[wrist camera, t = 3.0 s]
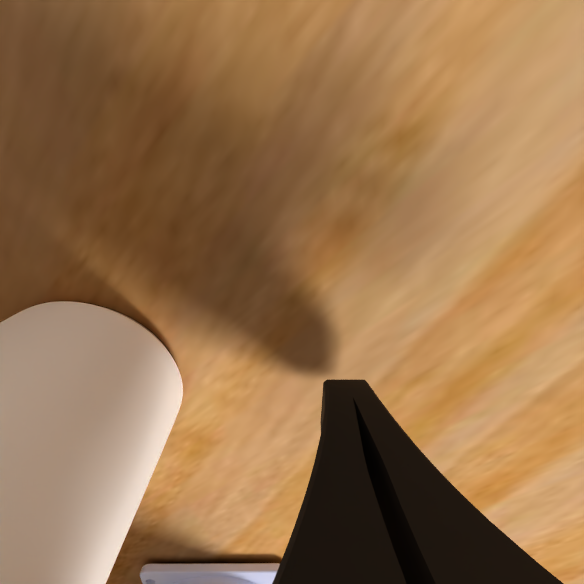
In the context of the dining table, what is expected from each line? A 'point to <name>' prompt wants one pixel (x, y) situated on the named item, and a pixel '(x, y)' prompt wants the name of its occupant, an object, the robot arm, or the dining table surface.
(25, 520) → the can
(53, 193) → the dining table surface
